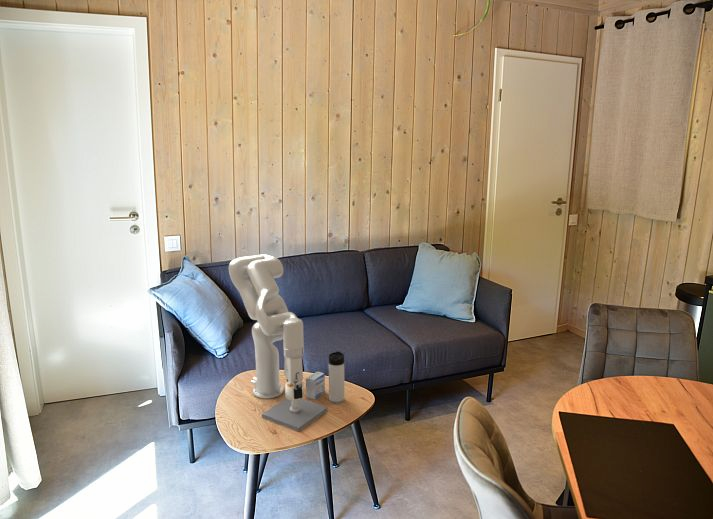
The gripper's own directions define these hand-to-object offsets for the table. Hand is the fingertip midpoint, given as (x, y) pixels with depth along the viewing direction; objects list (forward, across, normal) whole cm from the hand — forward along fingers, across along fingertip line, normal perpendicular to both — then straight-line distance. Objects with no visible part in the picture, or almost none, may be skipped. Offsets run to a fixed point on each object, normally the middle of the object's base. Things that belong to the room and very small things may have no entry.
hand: (294, 392), depth 208 cm
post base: (+9, 0, 0) cm, 9 cm away
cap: (+1, 0, 0) cm, 1 cm away
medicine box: (+9, -12, +12) cm, 20 cm away
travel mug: (+9, -4, +19) cm, 21 cm away
